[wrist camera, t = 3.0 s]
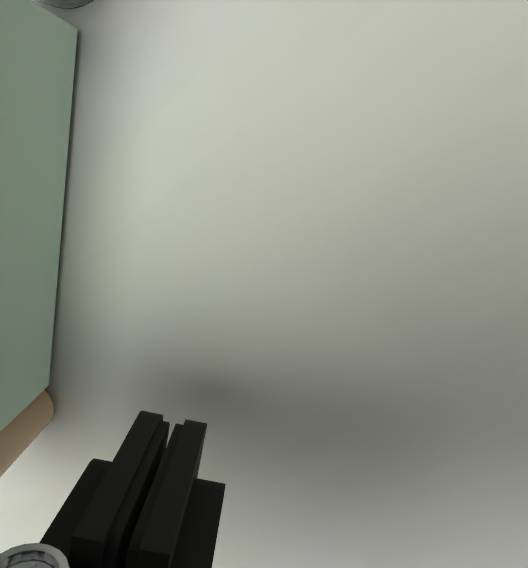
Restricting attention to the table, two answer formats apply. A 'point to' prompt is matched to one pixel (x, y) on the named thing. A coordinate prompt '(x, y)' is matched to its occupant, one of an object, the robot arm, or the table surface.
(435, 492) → the table surface
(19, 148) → the gate
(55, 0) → the hinge post
